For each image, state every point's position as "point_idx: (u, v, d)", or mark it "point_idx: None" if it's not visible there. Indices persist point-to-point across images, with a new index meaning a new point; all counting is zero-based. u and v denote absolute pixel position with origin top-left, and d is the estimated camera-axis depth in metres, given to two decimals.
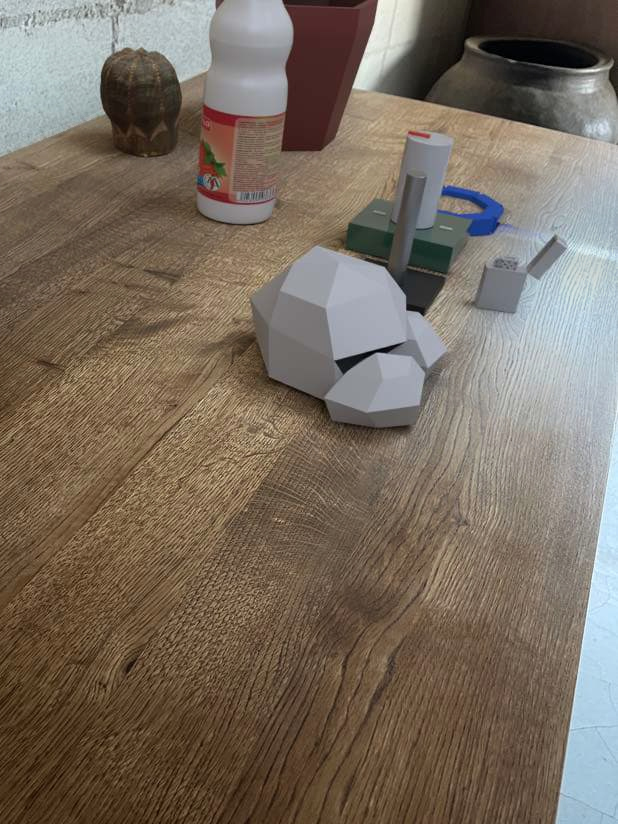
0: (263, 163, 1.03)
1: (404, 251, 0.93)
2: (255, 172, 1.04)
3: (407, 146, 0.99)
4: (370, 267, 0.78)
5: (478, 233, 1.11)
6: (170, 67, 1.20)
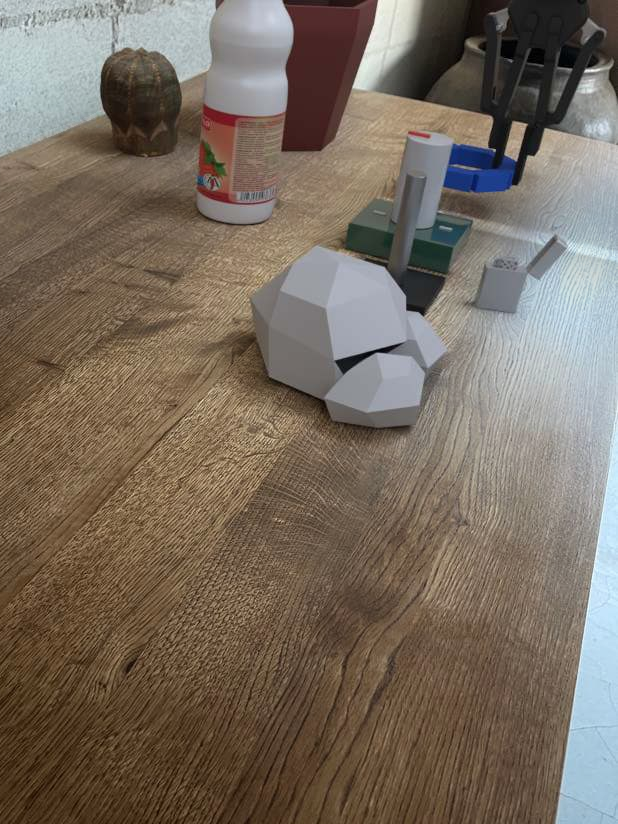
0: (263, 163, 1.03)
1: (404, 251, 0.93)
2: (255, 172, 1.04)
3: (407, 146, 0.99)
4: (370, 267, 0.78)
5: (493, 189, 1.08)
6: (170, 67, 1.20)
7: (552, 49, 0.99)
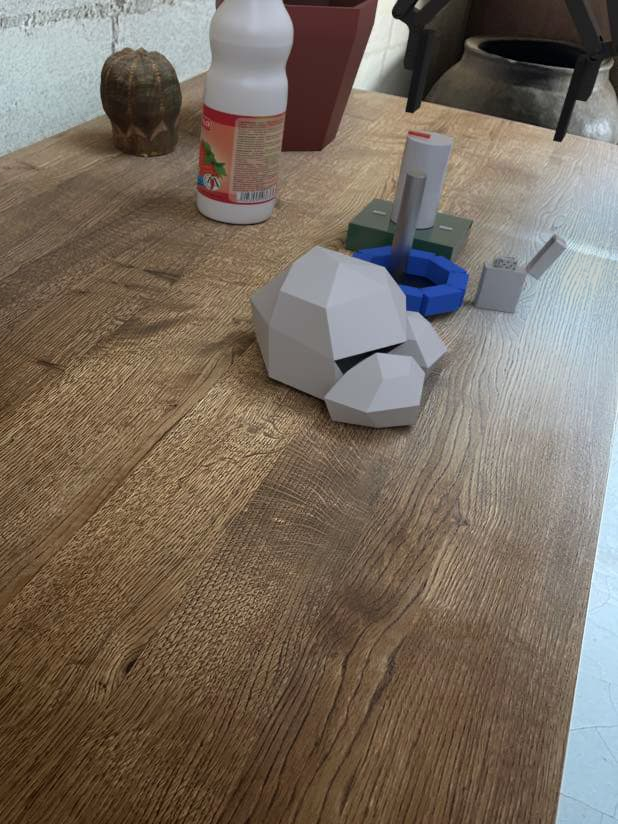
0: (263, 163, 1.03)
1: (404, 251, 0.93)
2: (255, 172, 1.04)
3: (407, 146, 0.99)
4: (370, 267, 0.78)
5: (444, 310, 0.91)
6: (170, 67, 1.20)
7: None
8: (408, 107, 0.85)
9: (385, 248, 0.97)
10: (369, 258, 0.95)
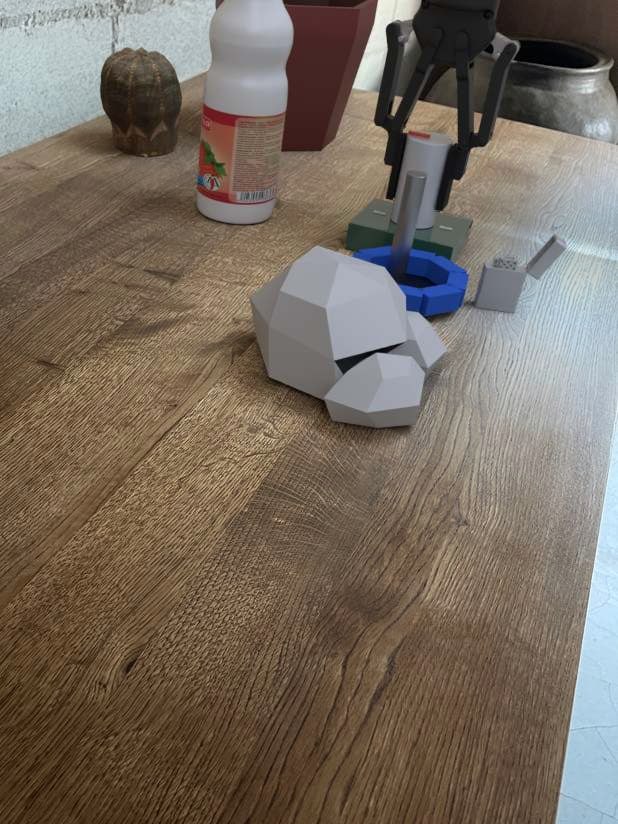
0: (263, 163, 1.03)
1: (404, 251, 0.93)
2: (255, 172, 1.04)
3: (407, 146, 0.99)
4: (370, 267, 0.78)
5: (444, 310, 0.91)
6: (170, 67, 1.20)
7: (463, 66, 0.92)
8: (388, 195, 1.03)
9: (385, 248, 0.97)
10: (369, 258, 0.95)
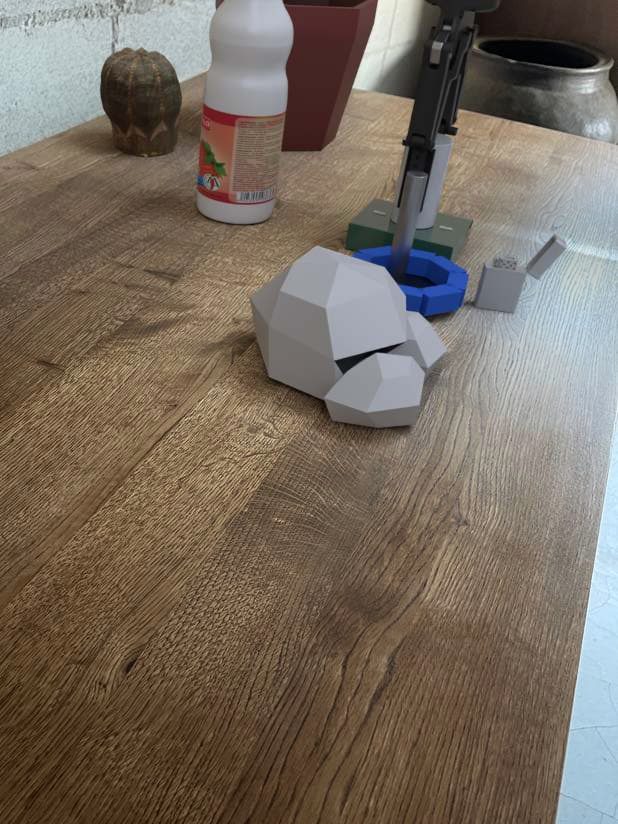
0: (263, 163, 1.03)
1: (404, 251, 0.93)
2: (255, 172, 1.04)
3: (438, 154, 0.98)
4: (370, 267, 0.78)
5: (444, 310, 0.91)
6: (170, 67, 1.20)
7: (468, 60, 0.95)
8: (421, 208, 1.00)
9: (385, 248, 0.97)
10: (369, 258, 0.95)
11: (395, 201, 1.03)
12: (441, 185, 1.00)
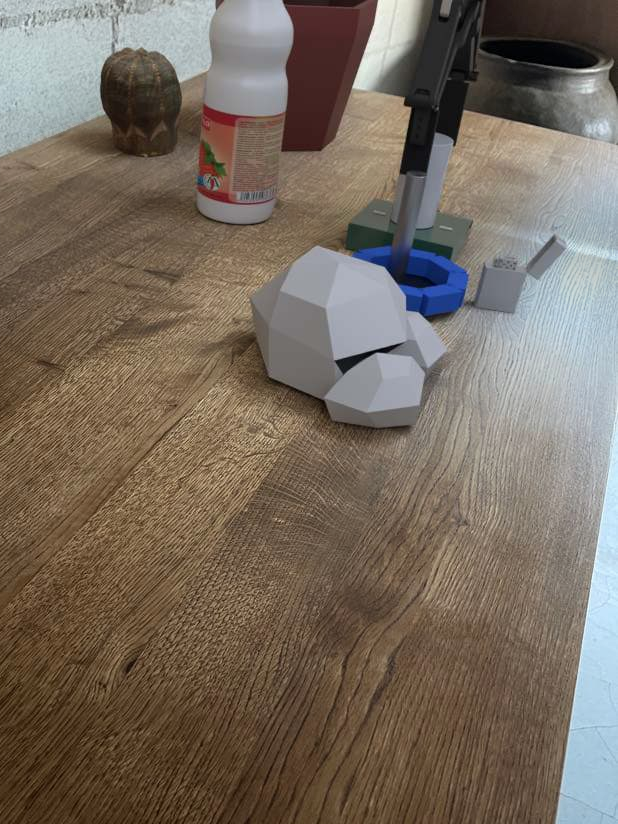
0: (263, 163, 1.03)
1: (404, 251, 0.93)
2: (255, 172, 1.04)
3: (438, 154, 0.98)
4: (370, 267, 0.78)
5: (444, 310, 0.91)
6: (170, 67, 1.20)
7: (479, 23, 0.94)
8: None
9: (385, 248, 0.97)
10: (369, 258, 0.95)
11: (395, 201, 1.03)
12: (441, 185, 1.00)
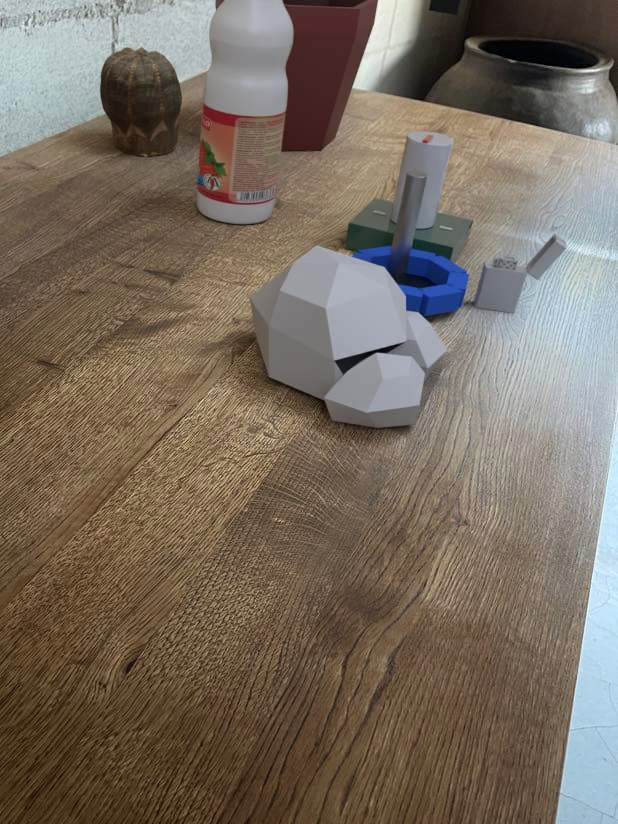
0: (263, 163, 1.03)
1: (404, 251, 0.93)
2: (255, 172, 1.04)
3: (438, 154, 0.98)
4: (370, 267, 0.78)
5: (444, 310, 0.91)
6: (170, 67, 1.20)
7: None
8: (458, 9, 0.85)
9: (385, 248, 0.97)
10: (369, 258, 0.95)
11: (395, 201, 1.03)
12: (441, 185, 1.00)
